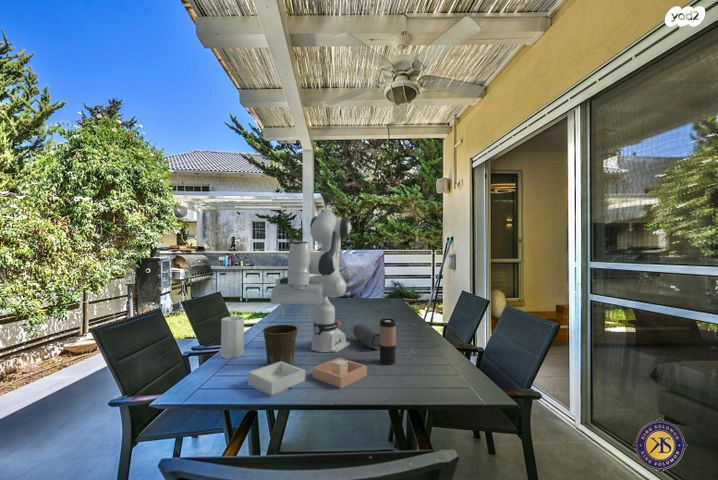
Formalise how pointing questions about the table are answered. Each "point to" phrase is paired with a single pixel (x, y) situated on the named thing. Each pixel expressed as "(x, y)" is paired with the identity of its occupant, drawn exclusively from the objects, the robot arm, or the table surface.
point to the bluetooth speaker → (367, 336)
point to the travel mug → (387, 341)
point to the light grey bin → (275, 378)
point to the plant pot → (280, 343)
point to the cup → (232, 337)
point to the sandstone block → (340, 367)
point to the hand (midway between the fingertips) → (295, 315)
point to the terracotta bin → (326, 375)
